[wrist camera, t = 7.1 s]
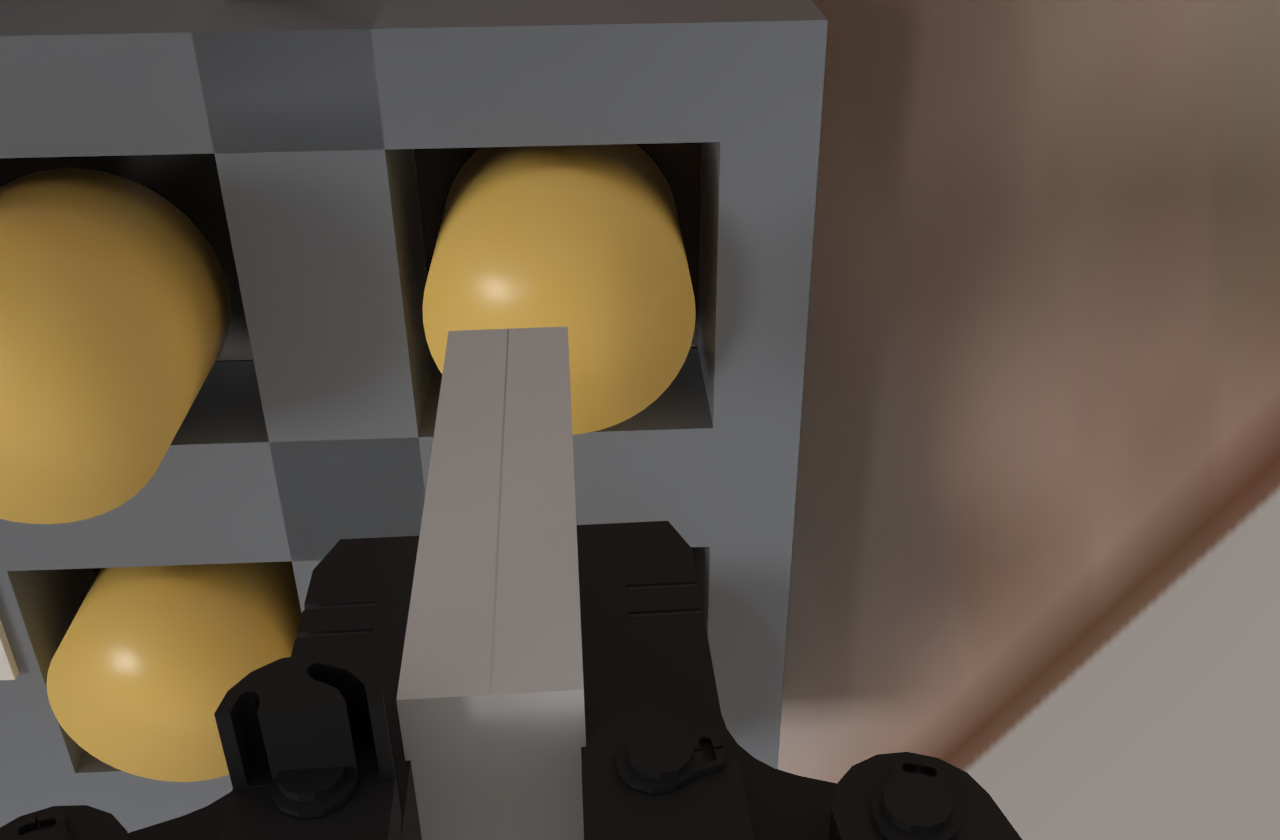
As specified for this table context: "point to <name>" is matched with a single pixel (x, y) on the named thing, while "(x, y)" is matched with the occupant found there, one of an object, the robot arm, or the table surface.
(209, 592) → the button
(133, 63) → the board
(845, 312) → the table surface
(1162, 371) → the table surface
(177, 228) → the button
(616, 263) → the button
